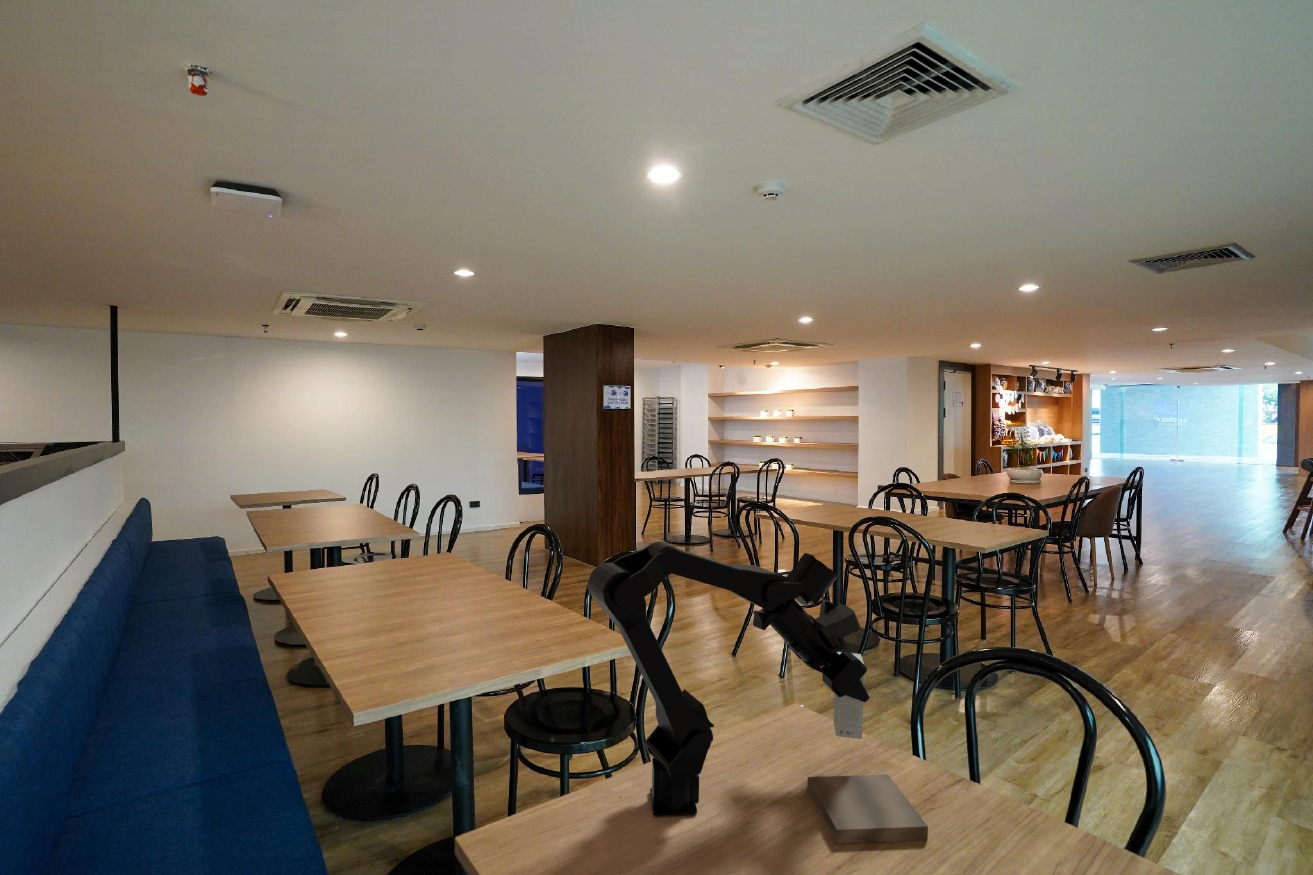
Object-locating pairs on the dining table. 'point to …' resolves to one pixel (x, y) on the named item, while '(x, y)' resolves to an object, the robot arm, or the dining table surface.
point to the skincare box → (848, 713)
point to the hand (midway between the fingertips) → (856, 690)
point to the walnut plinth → (866, 809)
